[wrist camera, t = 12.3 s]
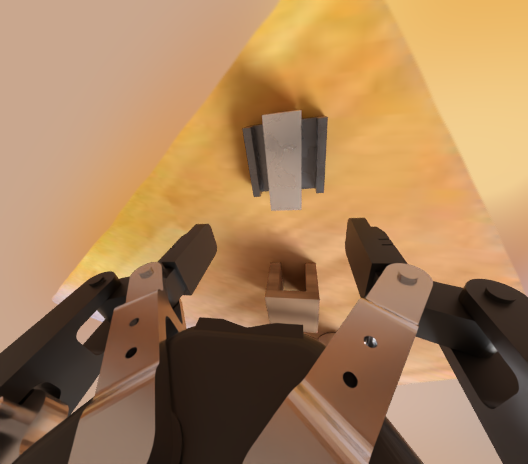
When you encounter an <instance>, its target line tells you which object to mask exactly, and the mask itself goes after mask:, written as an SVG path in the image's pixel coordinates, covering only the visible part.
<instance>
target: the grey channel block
mask: <svg viewBox="0 0 528 464" xmlns="http://www.w3.org/2000/svg"><path fill="white" fill-rule="evenodd" d="M327 120H328V117H326V116H319V117H312V118H305V119H301V189H308V188H315V189H316V193H324V179H325V160H326V140H327ZM242 129H243V135H244V141H245V147H246V153H247V159H248V165H249V171H250V177H251V183H252V189H253V195H254V197H260V196H261V194H262V191H269V182H268V172H267V162H266V152H265V142H264V132H263V124H261V125H254V126H247V127H245V128H242Z"/></svg>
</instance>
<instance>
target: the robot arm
mask: <svg viewBox="0 0 528 464" xmlns="http://www.w3.org/2000/svg"><path fill="white" fill-rule="evenodd" d="M345 250H346V255H347V258H348V261H349V264H350V267H351V270H352V273H353V276H354V279H355V282H356V285H357V288H358V291H359V294H360V297H361V298H360V299H359V300H358V302H357V303H356V305H355V306H354V308H353V309H352V310H351V312H350V313H349V315H348V316H347V318H346V319H345V321H344V322H343V323H342V325H341V326H340V328H339V329H338V331H337V332H336V333H327V334H324V335H322V336H321V337H319V339H318V340H317V339H315V338H313V337H311V336H309V335H306V334H304V331H303V325H299V324H285V323H272V324H266V325H261V326H255V327H249V328H247V327H243V326H240V325H237V324H235V323H232V322H229V321H227V320H224V319H214V318H199V320H198V322H197V324H196V326H194V327H191V328H188V329H187V328H186V323H185V317H184V311H183V306H182V301H181V299H180V297H181V296H182V295H192V294H193V292H194V290H195V289H196V287H197V285H198V283H199V282H200V280H201V278H202V277H203V275H204V273H205V272H206V270H207V268H208V266H209V265H210V263H211V261H212V260H213V258H214V256H215V254H216V252H217V245H216V241H215V238H214V235H213V232H212V229H211V226H210V225H209V224H196V225H195V226H194V227H193V228H192V229H191V230H190V231H189V232H188V233H187V234H185V235H183V236H182V237H181V238H180V239H179V240H178V241H177V242H176V243H175V244H174V245H173V246H172V248H170V249H169V250H168V251H167V253H166V254H165V255H164V256H163V257H162V258H161V259H160V260H159V261H158V262H151V263H147V264H145V265H143V266H141V267H139V268H138V269H136V270H135V271H134V272H133V273H132V274H131V276H130V277H125V278H121V279H118V277H117V276H116V275H115V273H114V272H110V271H109V272H104V273H101V274H98V275H96V276H94V277H92V278H90V279H89V280H87V281H86V282H85V283H84V284H82V285H81V286H80V287H79V288H78V289H76V290H75V291H74V292H73V293H72V294H71V295H69V296H68V297H67V298H66V299H65V300H63V301H62V302H61V303H60V304H59V305H57V306H56V307H55V308H54V309H53V310H52V311H50V312H49V313H48V314H47V315H45V316H44V317H43V318H42V319H41V320H40V321H38V322H37V323H36V324H35V325H34V326H32V327H31V328H30V329H29V330H28V331H26V332H25V333H24V334H23V335H22V336H20V337H19V338H18V339H17V340H16V341H15V342H13V343H12V344H11V345H10V346H8V347H7V348H6V349H5V350H4V351H3V352H1V353H0V464H423V462H422V461H421V460H420V458H419V457H418V456H417V455H416V453H415V452H414V451H413V450H412V448H411V447H410V446H409V445H408V444H407V442H406V441H405V440H404V438H403V437H402V436H401V435H400V433H399V432H398V431H397V430H396V428H395V427H394V426H393V425H392V424H391V422H390V421H389V420H388V419H387V417H386V413H387V411H388V408H389V405H390V403H391V400H392V397H393V395H394V392H395V389H396V387H397V384H398V381H399V379H400V376H401V373H402V371H403V368H404V365H405V363H406V360H407V357H408V355H409V352H410V349H411V346H412V344H413V341H414V338H415V336H416V337H419V338H422V339H425V340H428V341H431V342H434V343H437V344H439V346H440V347H441V349H442V351H443V353H444V355H445V357H446V359H447V360H448V362H449V364H450V366H451V368H452V370H453V372H454V373H455V375H456V377H457V379H458V381H459V383H460V384H461V387H462V388H463V390H464V392H465V394H466V396H467V398H468V400H469V401H470V403H471V405H472V407H473V409H474V411H475V412H476V414H477V416H478V418H479V420H480V422H481V424H482V426H483V427H484V429H485V431H486V433H487V435H488V437H489V439H490V440H491V442H492V444H493V446H494V448H495V450H496V452H497V454H498V455H499V457H500V459H501V461H502V463H503V464H528V297H527V296H526V295H524V294H523V293H521V292H520V291H518V290H516V289H514V288H512V287H510V286H507V285H505V284H502V283H499V282H496V281H492V280H487V279H472V280H470V281H468V282H467V283H466V285H465V286H464V288H461V287H456V286H451V285H447V284H442V283H438V282H434V281H432V278H431V277H430V276H429V275H428V274H427V273H426V272H425V271H423V270H421V269H420V268H418V267H415V266H412V265H409V264H407V262H406V261H405V260H404V258H403V257H402V255H401V254H400V253H399V251H398V250H397V248H396V247H395V246H394V245H393V243H392V241H391V240H389V237H388V236H387V234H386V233H385V232H384V231H382V230H381V229H379V228H378V227H370V225H369V223H368V222H367V220H366V219H365V218H349V219H348V223H347V232H346V241H345ZM96 310H97V311H98V312H99V313H100V314H101V315H102V316H103V317H104V318H105V320H104V321H103V323H102V324H101V325H100V326H99V327H98V328H97V329H96V331H95V332H94V333H93V334H92V335H91V336H90V338H89V339H88V340H87V341H86V342H85V343H84V344H83V345H82V344H81V343H80V342H78V340H77V339H76V334H77V331H78V330H79V328H80V327H81V326H82V325H83V324H84V323H85V322H86V321H87V320H88V319H89V318H90V317H91V316H92V314H93V313H94V312H95V311H96ZM98 375H99V379H98V384H97V389H96V393H95V396H94V397H93V398H92V399H90V400H89V401H88V402H87V403H85V404H84V405H83V406H81V407H80V408H79V409H77V410H76V411H75V412H74V413H72V412H73V410H74V409H75V407H76V406H77V405H78V403H79V402H80V400H81V399H82V397H83V396H84V395H85V394H86V392H87V391H88V389H89V388H90V387H91V385H92V384H93V382H94V381H95V379H96V378H97V377H98ZM71 413H72V414H71ZM70 414H71V415H70Z"/></svg>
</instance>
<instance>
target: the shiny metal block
mask: <svg viewBox="0 0 528 464" xmlns="http://www.w3.org/2000/svg"><path fill="white" fill-rule="evenodd" d="M262 122H263V132H264V142H265V152H266V162H267V172H268V182H269V193H270V203H271V211H276V210H301V110H293V111H285V112H277V113H269V114H265V115H262Z"/></svg>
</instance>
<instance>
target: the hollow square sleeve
mask: <svg viewBox="0 0 528 464" xmlns="http://www.w3.org/2000/svg"><path fill="white" fill-rule="evenodd" d="M305 275H306V292H302V291H283V281H282V272H281V263H271V265H270V271H269V276H268V282H267V288H266V293H265V301H266V306H267V311H268V316H269V321H270V324H272V323H285V324H299V325H303V331H304V332H310V333H318V319H319V301H320V299H319V290H318V280H317V271H316V263H305Z"/></svg>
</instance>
